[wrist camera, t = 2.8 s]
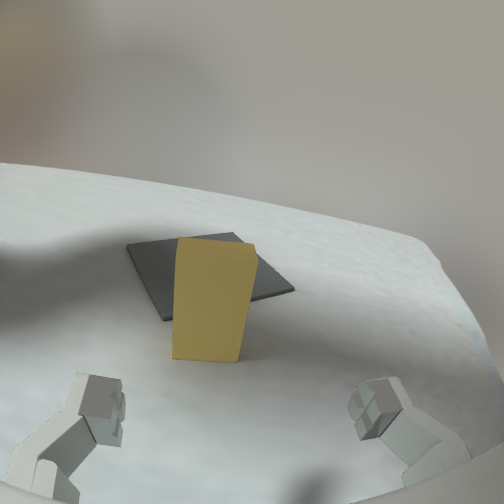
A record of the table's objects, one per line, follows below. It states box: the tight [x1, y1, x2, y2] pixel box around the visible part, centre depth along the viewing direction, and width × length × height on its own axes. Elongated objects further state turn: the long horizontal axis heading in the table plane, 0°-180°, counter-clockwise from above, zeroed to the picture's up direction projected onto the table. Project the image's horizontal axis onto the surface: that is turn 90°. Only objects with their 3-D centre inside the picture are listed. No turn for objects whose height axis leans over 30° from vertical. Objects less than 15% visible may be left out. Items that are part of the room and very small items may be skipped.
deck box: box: [172, 237, 259, 362], centre depth 23 cm, size 2×5×10 cm, turn 97°
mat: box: [127, 232, 294, 321], centre depth 36 cm, size 15×14×1 cm
